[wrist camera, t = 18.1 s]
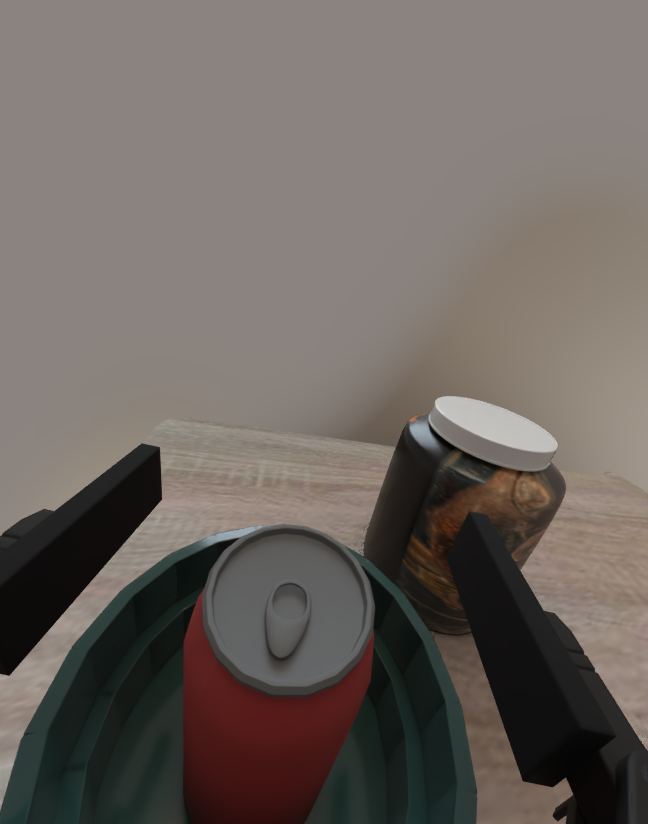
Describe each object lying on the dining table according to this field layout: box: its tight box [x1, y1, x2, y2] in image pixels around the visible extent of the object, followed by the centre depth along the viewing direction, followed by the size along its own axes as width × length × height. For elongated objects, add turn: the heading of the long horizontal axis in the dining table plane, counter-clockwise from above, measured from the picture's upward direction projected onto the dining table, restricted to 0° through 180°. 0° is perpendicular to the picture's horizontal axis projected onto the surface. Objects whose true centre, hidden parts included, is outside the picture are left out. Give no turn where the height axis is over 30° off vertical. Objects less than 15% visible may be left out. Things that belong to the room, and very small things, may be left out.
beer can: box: [183, 524, 375, 824], centre depth 12 cm, size 7×7×12 cm
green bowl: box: [0, 526, 477, 824], centre depth 14 cm, size 16×16×7 cm
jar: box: [364, 396, 566, 634], centre depth 25 cm, size 12×12×15 cm
